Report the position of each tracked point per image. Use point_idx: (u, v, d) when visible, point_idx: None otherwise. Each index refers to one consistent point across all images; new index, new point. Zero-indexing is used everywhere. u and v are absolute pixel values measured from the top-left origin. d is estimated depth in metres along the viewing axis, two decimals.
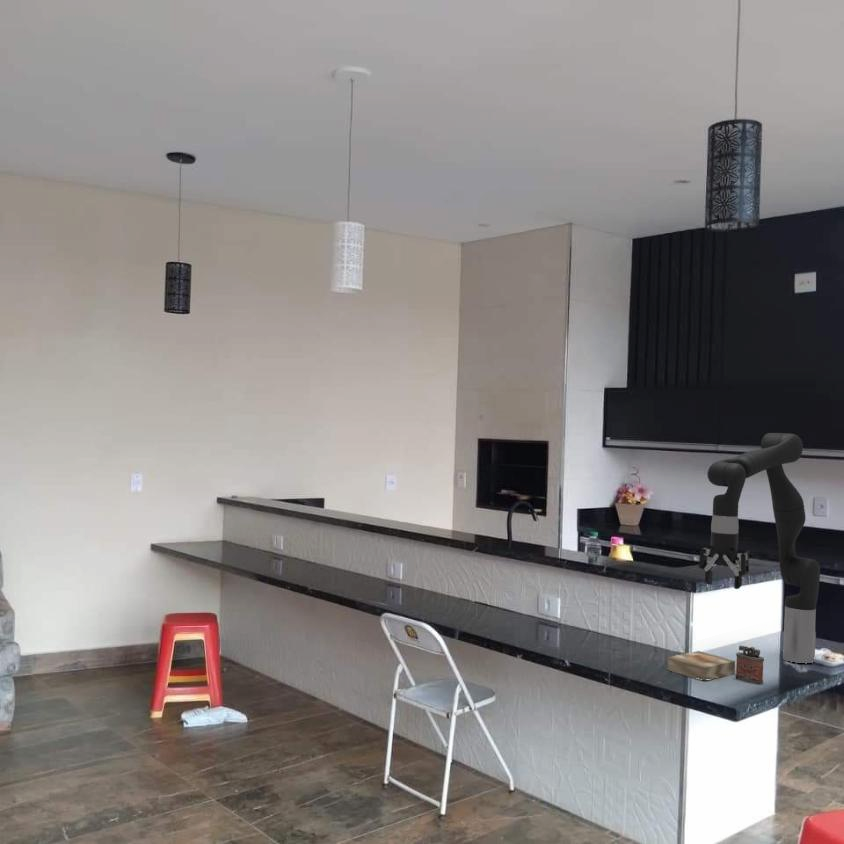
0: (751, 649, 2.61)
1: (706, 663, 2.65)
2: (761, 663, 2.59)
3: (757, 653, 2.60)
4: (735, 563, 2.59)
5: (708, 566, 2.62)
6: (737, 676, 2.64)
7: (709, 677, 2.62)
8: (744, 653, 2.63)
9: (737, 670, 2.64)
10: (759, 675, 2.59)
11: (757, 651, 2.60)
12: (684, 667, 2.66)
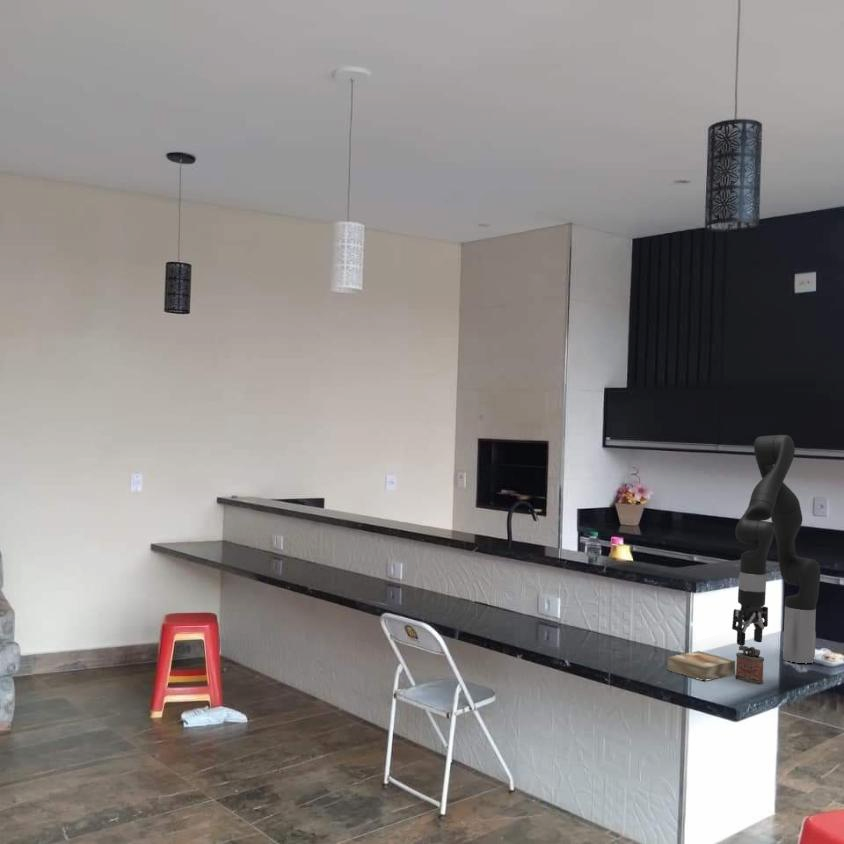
0: (751, 649, 2.61)
1: (706, 663, 2.65)
2: (761, 663, 2.59)
3: (757, 653, 2.60)
4: None
5: (745, 627, 2.59)
6: (737, 676, 2.64)
7: (709, 677, 2.62)
8: (744, 653, 2.63)
9: (737, 670, 2.64)
10: (759, 675, 2.59)
11: (757, 651, 2.60)
12: (684, 667, 2.66)
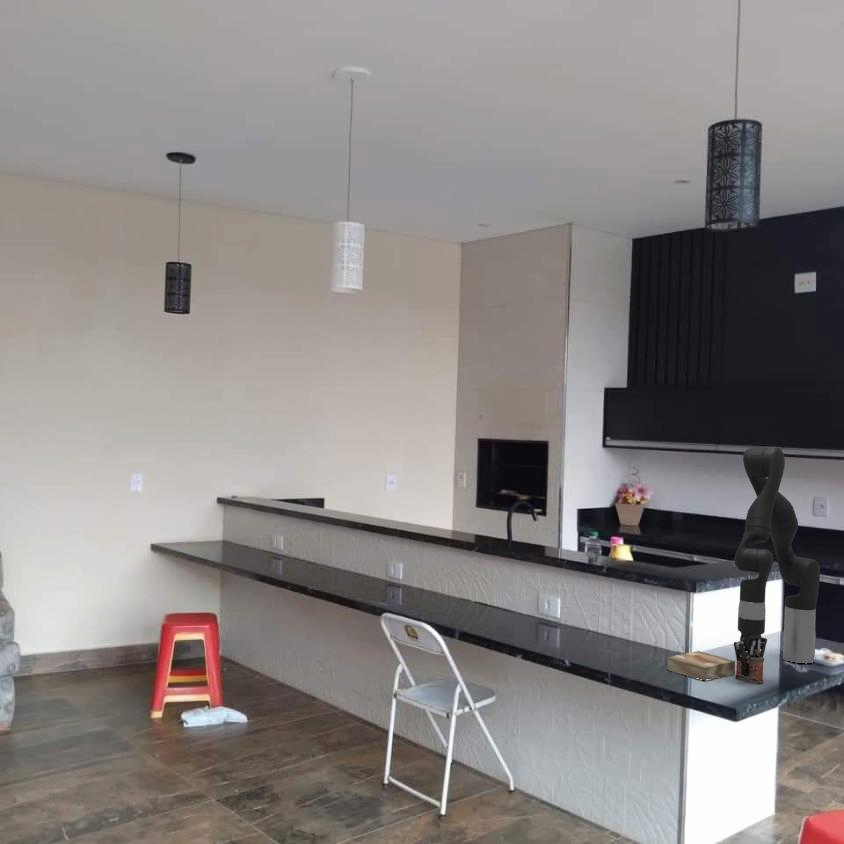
0: None
1: (706, 663, 2.65)
2: (761, 663, 2.59)
3: (757, 653, 2.60)
4: None
5: (749, 657, 2.60)
6: (737, 676, 2.64)
7: (709, 677, 2.62)
8: None
9: (737, 670, 2.64)
10: (759, 675, 2.59)
11: (757, 651, 2.60)
12: (684, 667, 2.66)
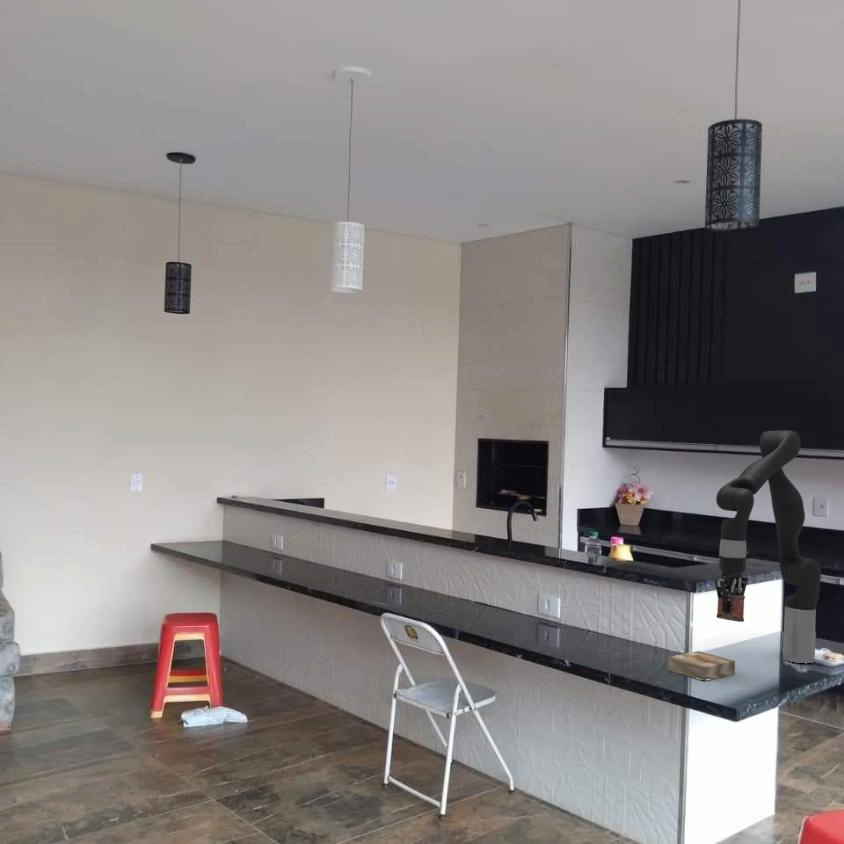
0: None
1: (706, 663, 2.65)
2: (742, 601, 2.62)
3: (738, 591, 2.63)
4: None
5: (730, 595, 2.63)
6: (718, 614, 2.66)
7: (709, 677, 2.62)
8: None
9: (718, 609, 2.66)
10: (740, 613, 2.62)
11: (738, 589, 2.63)
12: (684, 667, 2.66)
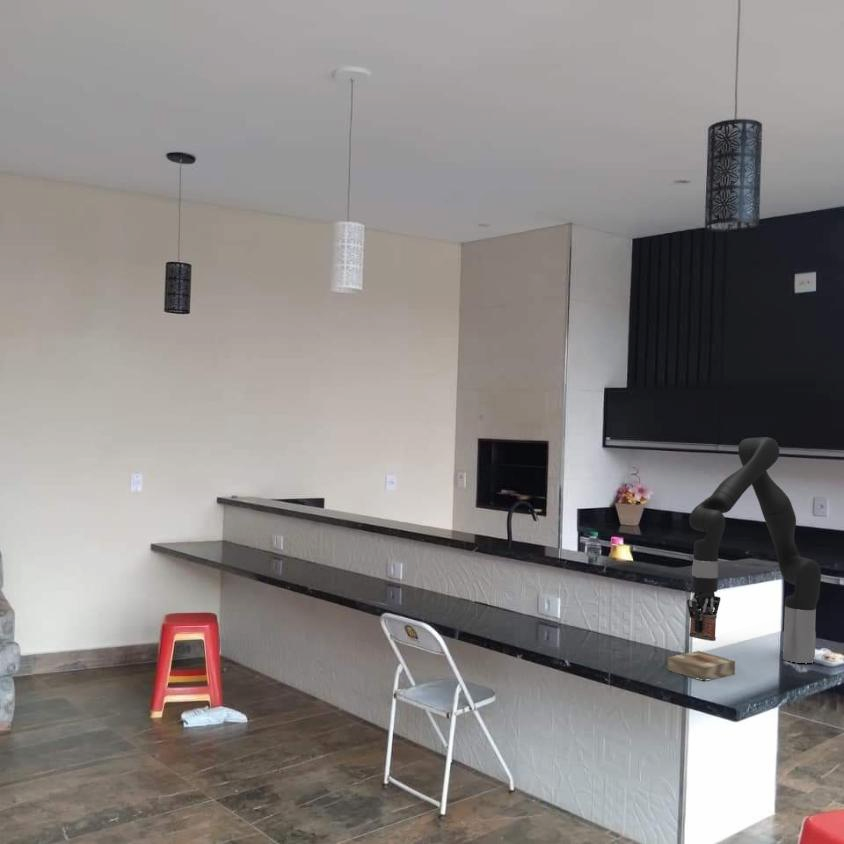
0: None
1: (706, 663, 2.65)
2: (714, 620, 2.67)
3: (710, 610, 2.68)
4: None
5: (702, 615, 2.68)
6: (691, 633, 2.71)
7: (709, 677, 2.62)
8: None
9: (691, 627, 2.71)
10: (712, 632, 2.67)
11: (710, 609, 2.68)
12: (684, 667, 2.66)
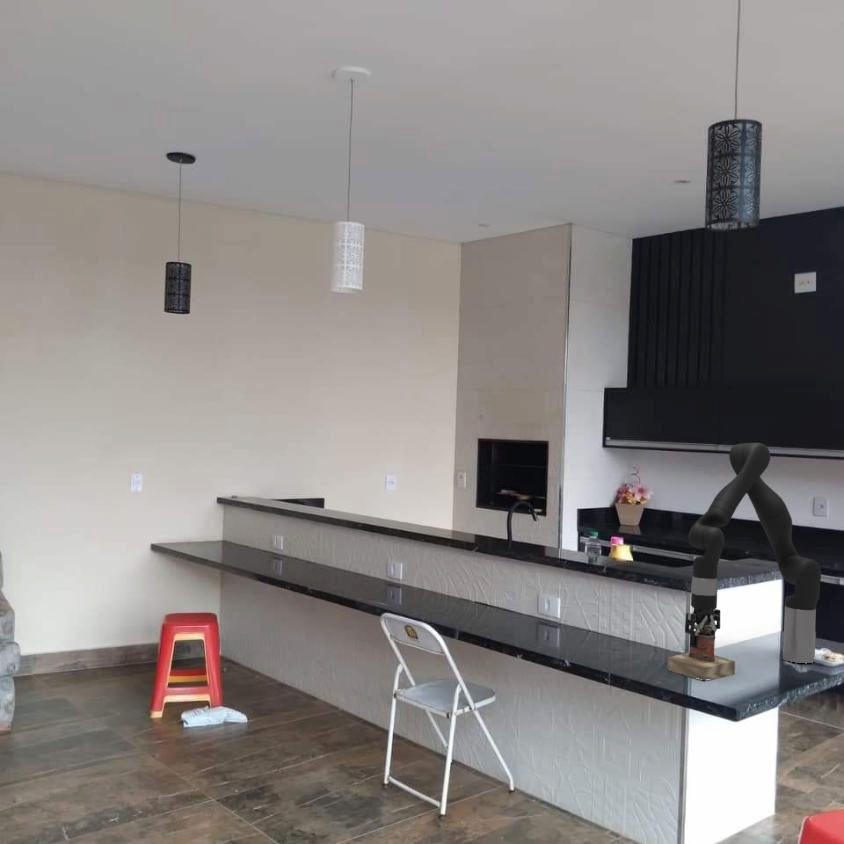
0: (703, 627, 2.69)
1: (706, 663, 2.65)
2: (712, 641, 2.67)
3: (708, 631, 2.68)
4: None
5: (698, 630, 2.66)
6: (690, 654, 2.71)
7: (709, 677, 2.62)
8: None
9: (690, 648, 2.71)
10: (711, 653, 2.67)
11: (708, 629, 2.68)
12: (684, 667, 2.66)
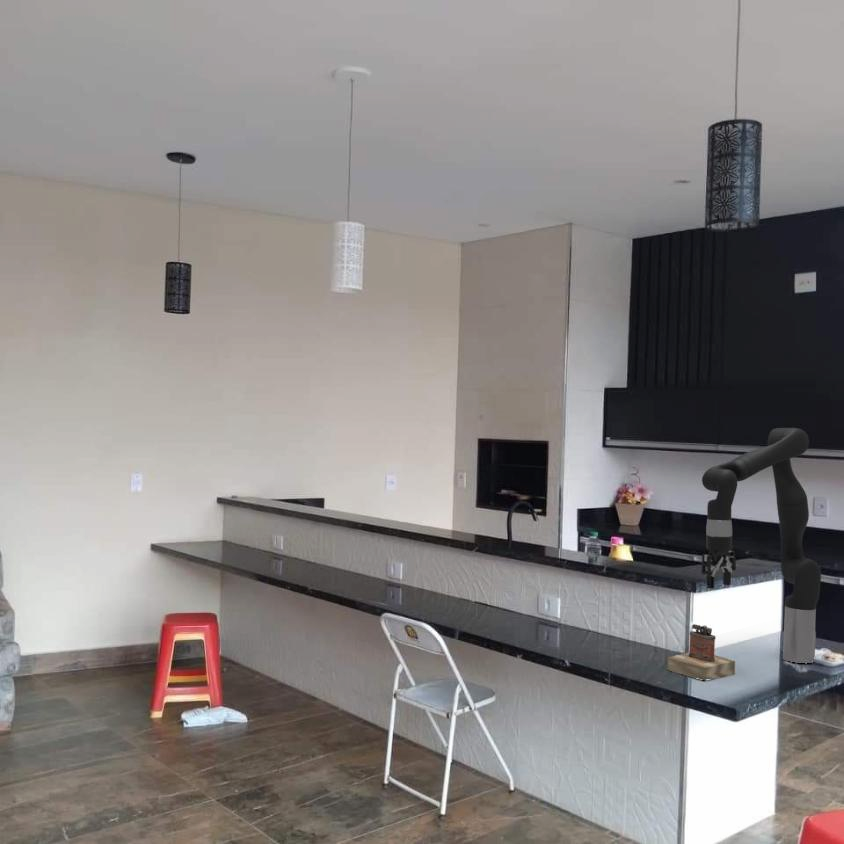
0: (703, 627, 2.69)
1: (706, 663, 2.65)
2: (712, 641, 2.67)
3: (709, 631, 2.68)
4: None
5: (714, 571, 2.70)
6: (690, 654, 2.71)
7: (709, 677, 2.62)
8: (697, 631, 2.70)
9: (690, 648, 2.71)
10: (711, 653, 2.67)
11: (709, 629, 2.68)
12: (684, 667, 2.66)
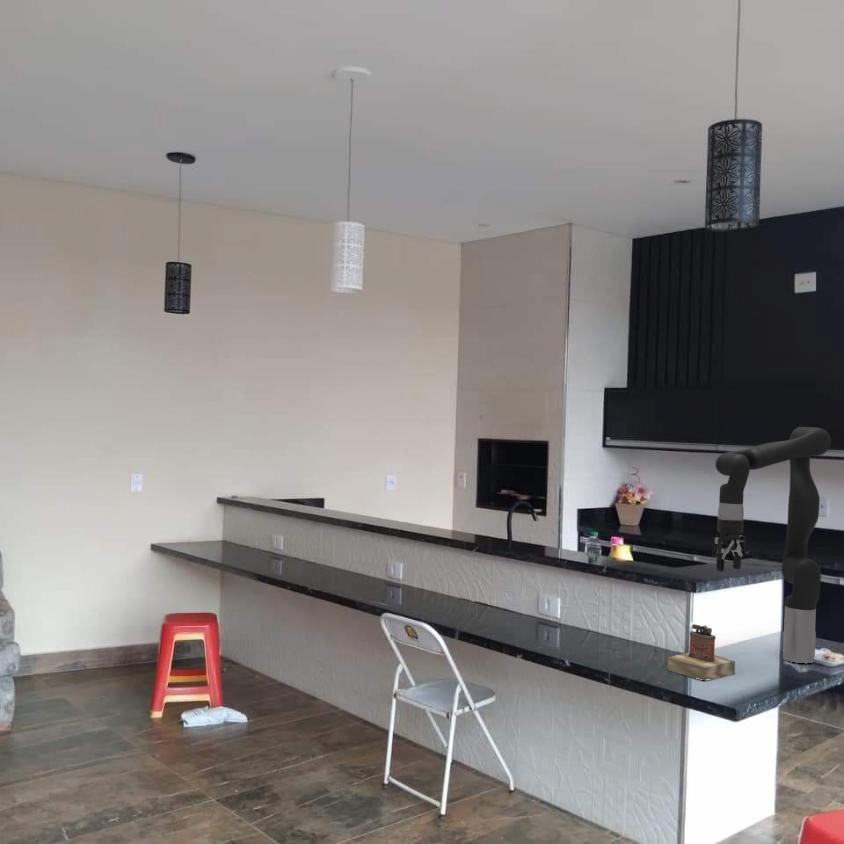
0: (703, 627, 2.69)
1: (706, 663, 2.65)
2: (712, 641, 2.67)
3: (709, 631, 2.68)
4: None
5: (724, 554, 2.73)
6: (690, 654, 2.71)
7: (709, 677, 2.62)
8: (697, 631, 2.70)
9: (690, 648, 2.71)
10: (711, 653, 2.67)
11: (709, 629, 2.68)
12: (684, 667, 2.66)
